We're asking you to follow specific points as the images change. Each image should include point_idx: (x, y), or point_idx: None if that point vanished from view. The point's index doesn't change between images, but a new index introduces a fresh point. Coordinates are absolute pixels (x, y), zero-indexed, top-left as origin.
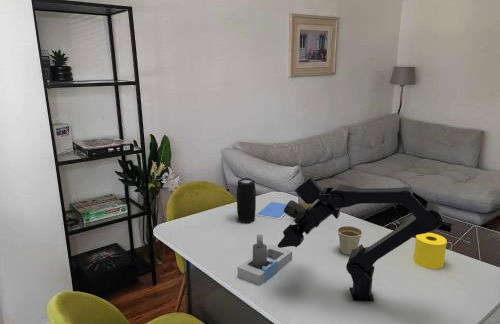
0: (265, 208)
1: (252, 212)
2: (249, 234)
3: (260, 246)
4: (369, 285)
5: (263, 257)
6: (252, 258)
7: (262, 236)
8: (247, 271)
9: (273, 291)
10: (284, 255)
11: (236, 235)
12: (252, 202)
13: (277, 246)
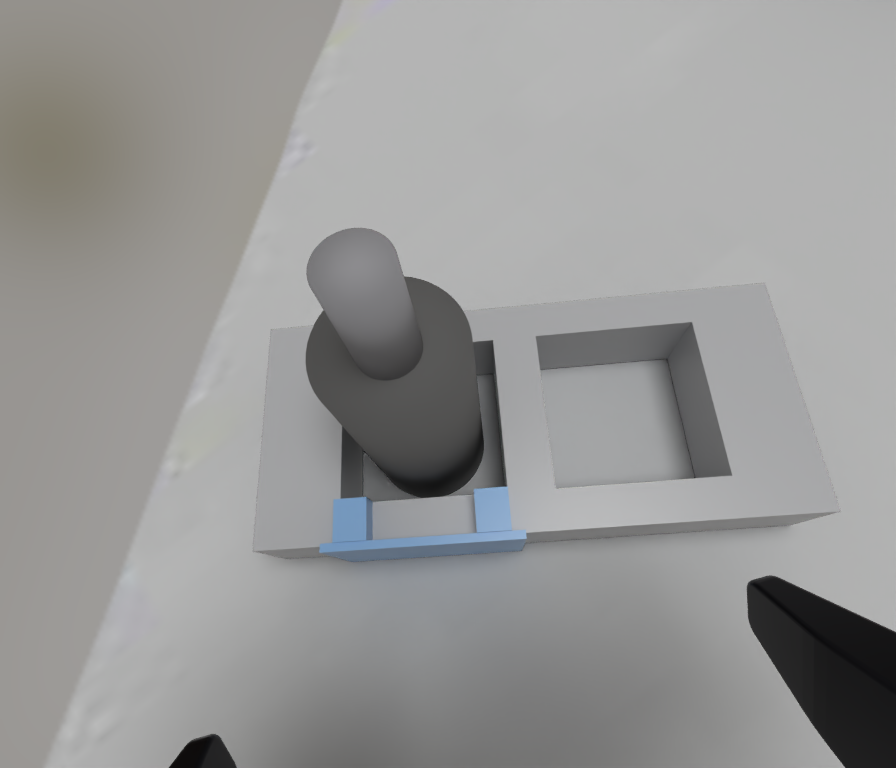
0: None
1: None
2: (801, 64)
3: (362, 366)
4: None
5: (378, 453)
6: None
7: (359, 306)
8: (265, 423)
9: (273, 705)
10: (701, 504)
11: (713, 28)
12: None
13: (783, 346)
